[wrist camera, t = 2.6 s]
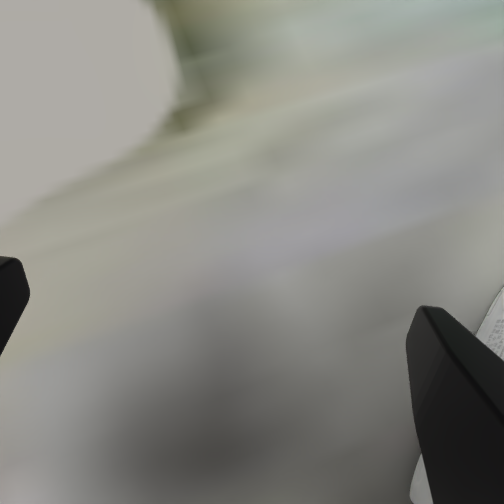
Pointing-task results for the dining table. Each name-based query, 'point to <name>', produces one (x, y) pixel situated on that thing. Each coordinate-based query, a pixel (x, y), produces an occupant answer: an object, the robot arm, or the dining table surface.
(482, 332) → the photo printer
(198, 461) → the dining table surface
